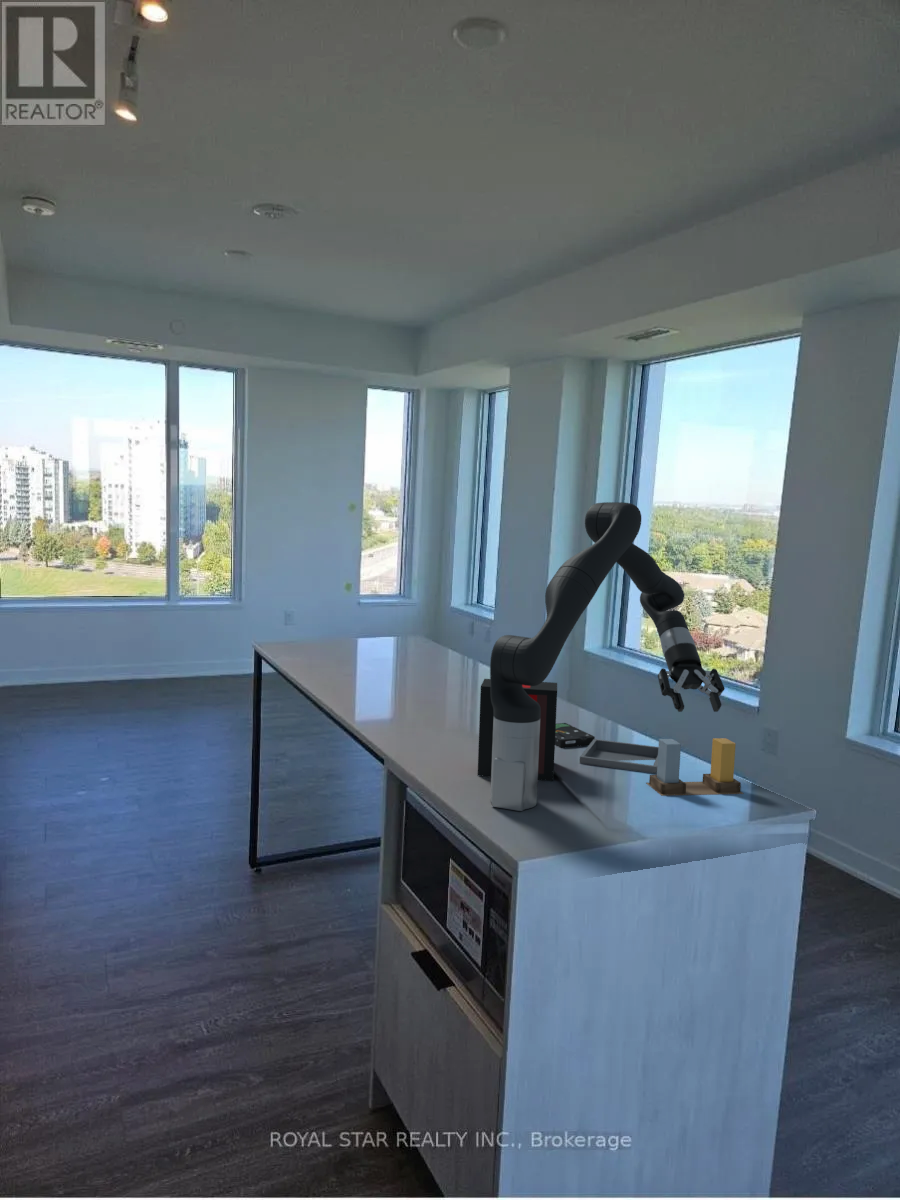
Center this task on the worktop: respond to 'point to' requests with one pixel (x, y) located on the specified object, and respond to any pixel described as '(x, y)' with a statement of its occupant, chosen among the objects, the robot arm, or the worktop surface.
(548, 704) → the cleaning product box
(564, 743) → the disk drive
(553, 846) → the worktop surface
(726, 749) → the yellow rectangular block
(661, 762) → the block
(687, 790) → the block
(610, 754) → the tray
